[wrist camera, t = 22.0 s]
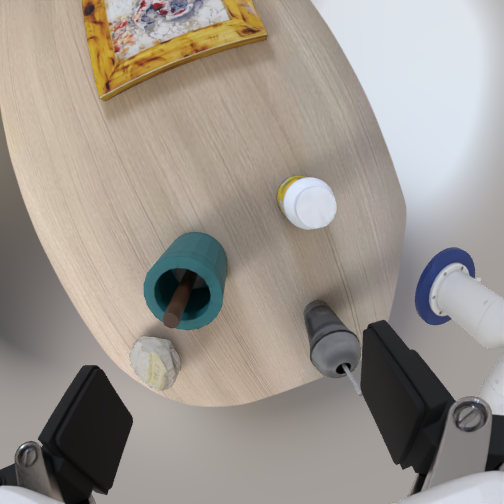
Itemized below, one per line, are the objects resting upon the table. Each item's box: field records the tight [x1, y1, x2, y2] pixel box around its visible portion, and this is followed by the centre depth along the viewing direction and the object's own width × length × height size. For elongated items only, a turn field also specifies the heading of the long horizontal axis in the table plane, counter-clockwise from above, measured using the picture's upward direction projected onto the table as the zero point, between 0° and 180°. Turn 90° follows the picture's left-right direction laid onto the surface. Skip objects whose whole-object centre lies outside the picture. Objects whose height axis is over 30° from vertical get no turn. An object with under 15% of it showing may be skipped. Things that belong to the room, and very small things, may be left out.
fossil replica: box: [129, 336, 181, 391], centre depth 44 cm, size 12×8×10 cm
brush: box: [162, 268, 206, 328], centre depth 34 cm, size 5×5×17 cm
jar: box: [144, 232, 227, 330], centre depth 38 cm, size 10×10×12 cm
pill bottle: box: [277, 176, 337, 230], centre depth 35 cm, size 6×6×12 cm
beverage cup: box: [304, 301, 362, 396], centre depth 37 cm, size 7×7×20 cm
